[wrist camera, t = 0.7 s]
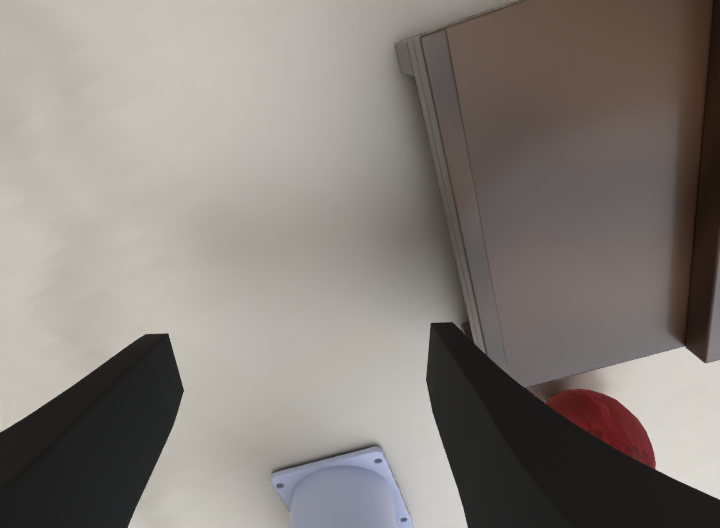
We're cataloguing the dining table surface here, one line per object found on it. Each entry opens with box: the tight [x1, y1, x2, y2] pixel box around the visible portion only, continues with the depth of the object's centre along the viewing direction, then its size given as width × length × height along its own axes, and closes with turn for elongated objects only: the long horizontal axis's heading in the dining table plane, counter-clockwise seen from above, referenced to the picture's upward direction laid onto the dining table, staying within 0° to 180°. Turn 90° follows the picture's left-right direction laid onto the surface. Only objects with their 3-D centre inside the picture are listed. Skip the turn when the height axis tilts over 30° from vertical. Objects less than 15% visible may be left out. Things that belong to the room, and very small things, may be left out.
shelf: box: [395, 0, 720, 388], centre depth 17 cm, size 16×10×6 cm, turn 17°
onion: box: [545, 389, 656, 469], centre depth 23 cm, size 6×6×8 cm
